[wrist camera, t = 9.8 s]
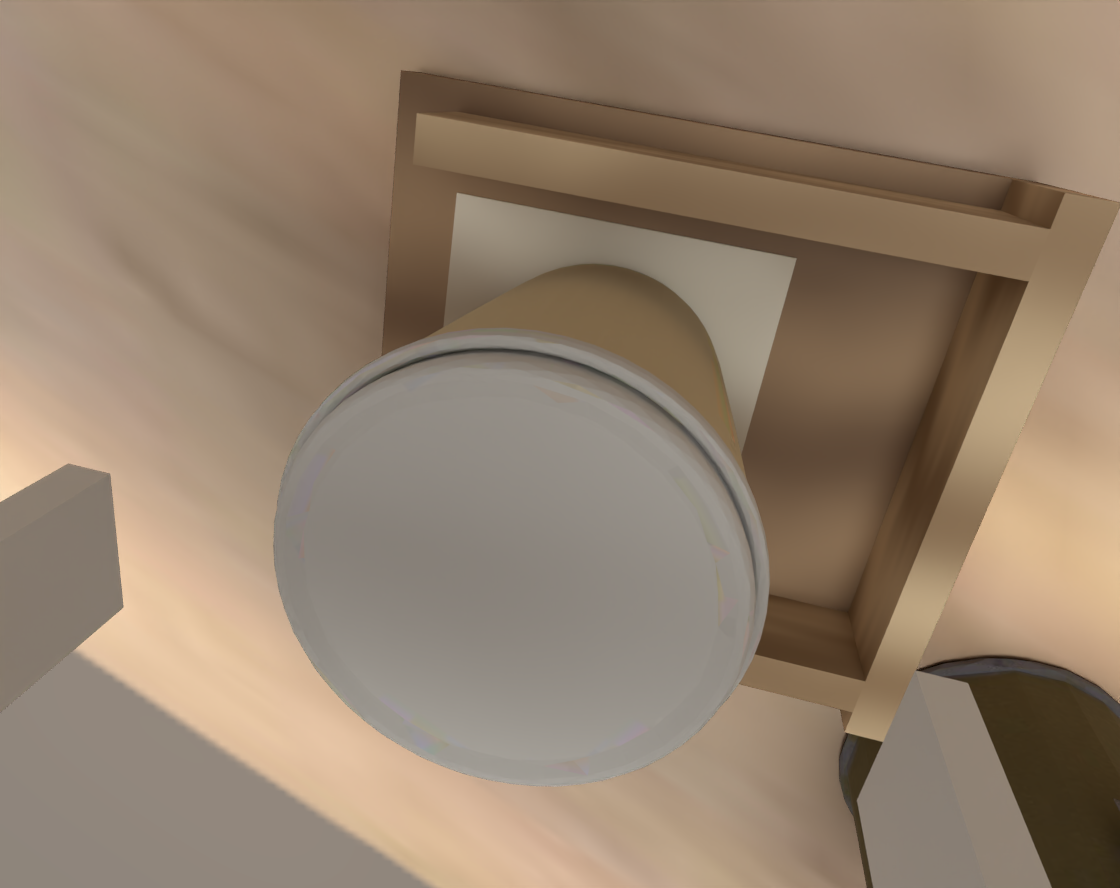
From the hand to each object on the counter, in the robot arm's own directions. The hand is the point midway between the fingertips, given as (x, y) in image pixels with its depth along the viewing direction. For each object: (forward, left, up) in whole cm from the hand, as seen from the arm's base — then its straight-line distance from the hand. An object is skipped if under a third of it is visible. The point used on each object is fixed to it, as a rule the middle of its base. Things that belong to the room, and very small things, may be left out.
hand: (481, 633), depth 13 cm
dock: (0, +2, -15) cm, 15 cm away
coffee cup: (0, 0, -14) cm, 14 cm away
